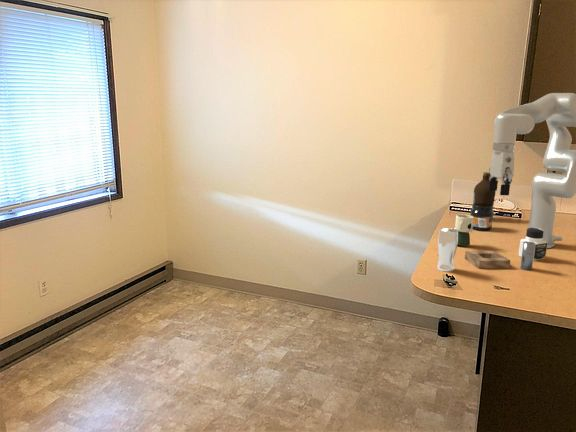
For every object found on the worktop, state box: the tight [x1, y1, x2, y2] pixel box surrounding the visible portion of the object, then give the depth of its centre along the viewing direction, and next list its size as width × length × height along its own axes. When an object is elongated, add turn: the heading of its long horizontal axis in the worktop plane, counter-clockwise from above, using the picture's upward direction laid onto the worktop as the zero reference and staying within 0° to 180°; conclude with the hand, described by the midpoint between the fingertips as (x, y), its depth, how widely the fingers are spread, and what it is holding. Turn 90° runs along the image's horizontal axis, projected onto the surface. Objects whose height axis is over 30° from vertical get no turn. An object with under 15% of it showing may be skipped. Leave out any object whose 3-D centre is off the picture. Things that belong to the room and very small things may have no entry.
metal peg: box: [519, 241, 535, 271], centre depth 185 cm, size 4×4×10 cm
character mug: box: [454, 214, 474, 247], centre depth 213 cm, size 11×7×13 cm, turn 145°
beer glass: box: [436, 227, 458, 273], centre depth 182 cm, size 7×7×15 cm
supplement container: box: [469, 203, 494, 232], centre depth 243 cm, size 10×10×12 cm
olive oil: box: [472, 171, 497, 212], centre depth 261 cm, size 11×11×25 cm
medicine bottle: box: [518, 227, 548, 262], centre depth 198 cm, size 7×7×12 cm
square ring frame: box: [464, 250, 511, 269], centre depth 191 cm, size 12×12×3 cm
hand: (498, 192), depth 190 cm, fingers open, 9 cm apart
